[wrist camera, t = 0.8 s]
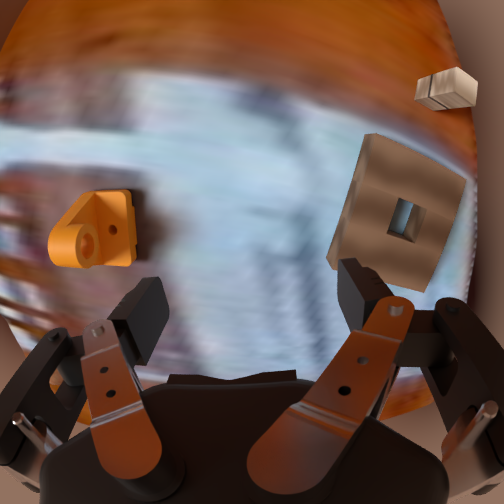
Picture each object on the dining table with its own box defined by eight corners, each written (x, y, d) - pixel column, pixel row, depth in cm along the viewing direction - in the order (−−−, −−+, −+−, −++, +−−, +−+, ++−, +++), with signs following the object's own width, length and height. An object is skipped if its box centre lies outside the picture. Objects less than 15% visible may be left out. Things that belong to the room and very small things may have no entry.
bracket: (139, 259, 40) (101, 298, 29) (100, 257, 40) (57, 292, 29) (133, 188, 36) (87, 206, 25) (92, 190, 36) (41, 208, 25)
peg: (417, 79, 29) (457, 66, 19) (437, 90, 29) (478, 82, 20) (414, 100, 30) (454, 91, 21) (433, 111, 30) (475, 106, 21)
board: (364, 134, 32) (376, 133, 29) (451, 175, 33) (466, 179, 30) (325, 257, 39) (332, 269, 35) (412, 281, 40) (424, 292, 36)
